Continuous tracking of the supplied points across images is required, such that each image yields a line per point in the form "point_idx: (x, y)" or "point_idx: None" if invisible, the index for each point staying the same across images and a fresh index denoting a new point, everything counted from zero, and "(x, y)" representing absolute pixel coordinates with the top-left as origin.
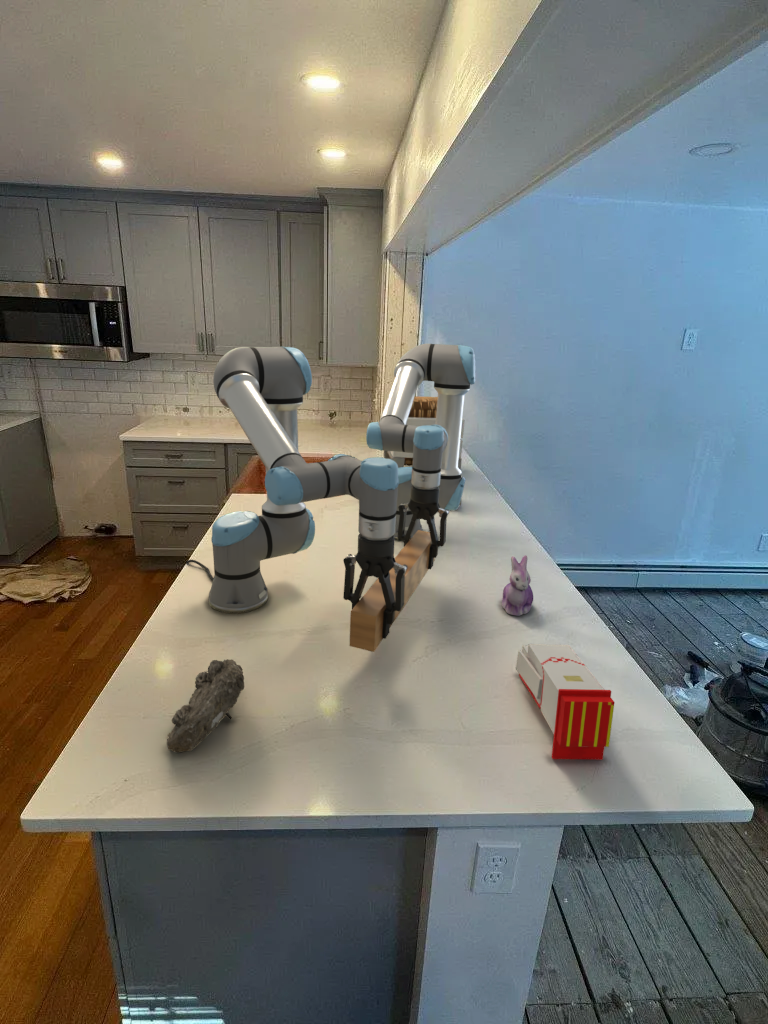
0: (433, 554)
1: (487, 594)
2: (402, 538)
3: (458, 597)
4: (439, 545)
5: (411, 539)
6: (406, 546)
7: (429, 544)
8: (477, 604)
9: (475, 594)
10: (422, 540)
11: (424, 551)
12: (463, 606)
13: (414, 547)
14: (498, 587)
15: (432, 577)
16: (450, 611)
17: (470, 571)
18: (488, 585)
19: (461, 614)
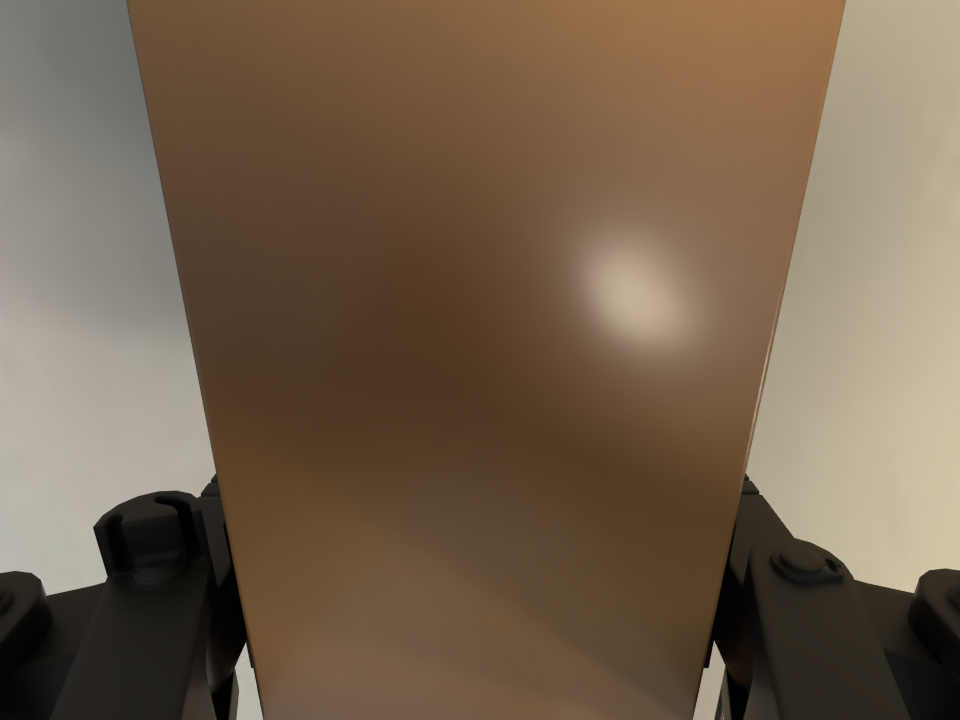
0: None
1: (30, 451)
2: (887, 610)
3: (181, 337)
4: (77, 602)
5: (690, 591)
6: (760, 100)
7: (239, 538)
8: (19, 290)
9: (98, 422)
10: (435, 631)
11: (156, 62)
12: (91, 218)
13: (498, 132)
14: (15, 559)
15: None
16: (142, 93)
17: (251, 674)
18: (81, 560)
19: (46, 80)
